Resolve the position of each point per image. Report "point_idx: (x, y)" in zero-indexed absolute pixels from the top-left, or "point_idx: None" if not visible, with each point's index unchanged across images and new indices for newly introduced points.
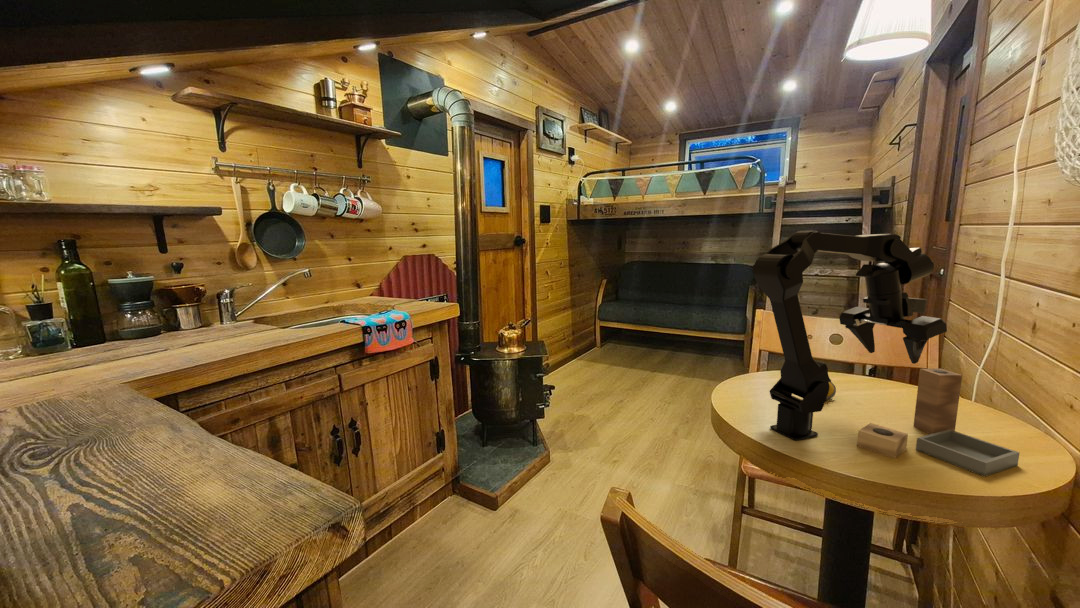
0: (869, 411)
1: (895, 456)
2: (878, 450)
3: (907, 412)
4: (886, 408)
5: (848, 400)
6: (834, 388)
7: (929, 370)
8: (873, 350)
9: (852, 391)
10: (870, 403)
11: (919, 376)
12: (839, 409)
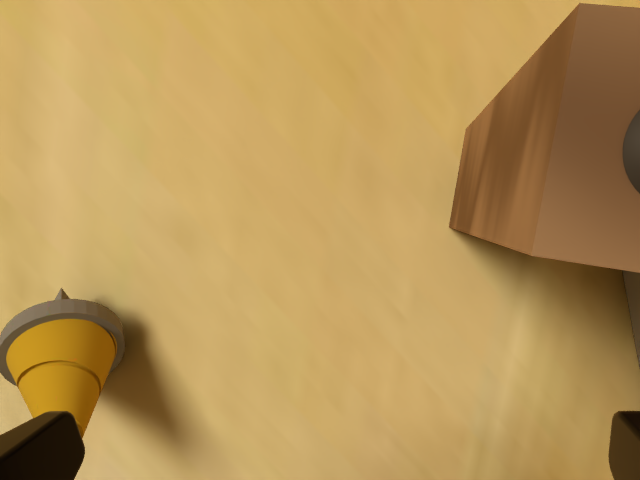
0: (272, 270)
1: None
2: None
3: (313, 104)
4: (255, 158)
5: (142, 247)
6: (84, 318)
7: (615, 221)
8: (61, 441)
9: (45, 124)
10: (190, 177)
11: (510, 246)
12: (229, 382)
